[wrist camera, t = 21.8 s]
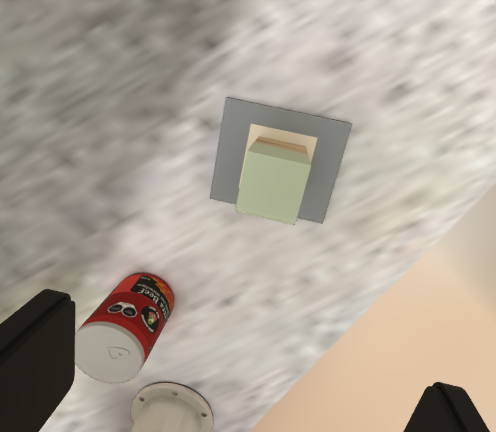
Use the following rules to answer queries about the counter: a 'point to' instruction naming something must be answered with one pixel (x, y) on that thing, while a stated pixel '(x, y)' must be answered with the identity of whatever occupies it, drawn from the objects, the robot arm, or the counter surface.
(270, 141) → the oak block
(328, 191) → the build board
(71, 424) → the counter surface
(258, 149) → the sage block
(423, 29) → the counter surface
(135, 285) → the canned food
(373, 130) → the counter surface
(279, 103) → the counter surface
